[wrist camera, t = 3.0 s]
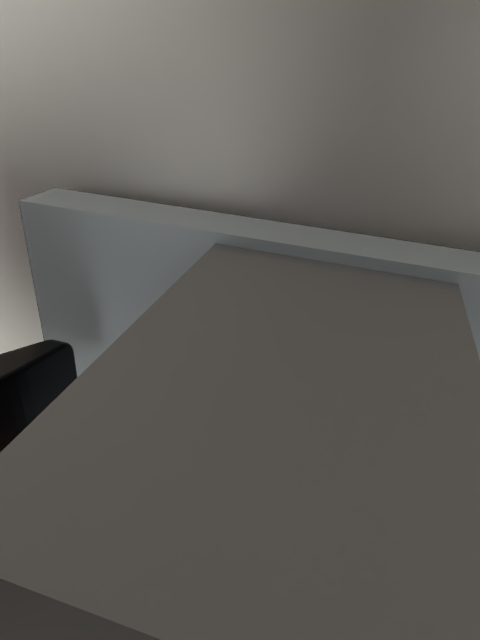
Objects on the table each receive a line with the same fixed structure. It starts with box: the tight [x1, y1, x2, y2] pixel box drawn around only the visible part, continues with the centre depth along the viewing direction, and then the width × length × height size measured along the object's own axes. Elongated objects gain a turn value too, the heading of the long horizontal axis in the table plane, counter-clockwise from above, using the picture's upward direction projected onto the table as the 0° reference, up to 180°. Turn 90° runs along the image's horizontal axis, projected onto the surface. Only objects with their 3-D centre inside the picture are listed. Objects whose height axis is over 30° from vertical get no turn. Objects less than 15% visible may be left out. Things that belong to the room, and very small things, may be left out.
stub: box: [0, 188, 480, 640], centre depth 7 cm, size 12×7×7 cm, turn 86°
